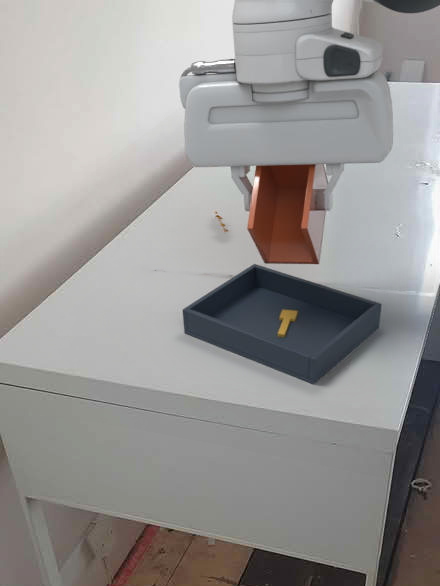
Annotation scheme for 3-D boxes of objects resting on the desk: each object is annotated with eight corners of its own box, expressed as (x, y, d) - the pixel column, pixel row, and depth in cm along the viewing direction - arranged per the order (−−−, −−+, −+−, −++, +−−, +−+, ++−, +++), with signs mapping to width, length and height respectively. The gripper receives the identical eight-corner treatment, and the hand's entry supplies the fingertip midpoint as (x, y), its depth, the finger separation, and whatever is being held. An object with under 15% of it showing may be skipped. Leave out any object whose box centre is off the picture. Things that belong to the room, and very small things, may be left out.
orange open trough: (275, 186, 79) (258, 144, 72) (329, 185, 77) (318, 141, 70) (264, 263, 78) (246, 228, 70) (319, 264, 76) (307, 228, 69)
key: (282, 312, 82) (282, 309, 82) (297, 313, 82) (297, 310, 81) (272, 336, 78) (272, 333, 78) (289, 338, 78) (289, 334, 77)
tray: (379, 327, 79) (381, 303, 77) (313, 384, 72) (314, 359, 70) (254, 286, 88) (254, 263, 86) (184, 333, 80) (182, 309, 78)
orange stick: (212, 217, 104) (212, 210, 104) (219, 216, 104) (219, 209, 104) (222, 239, 98) (222, 232, 98) (230, 238, 99) (229, 231, 98)
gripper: (165, 67, 66) (183, 219, 74) (391, 52, 60) (385, 219, 68) (187, 58, 71) (202, 201, 79) (399, 42, 65) (392, 199, 73)
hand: (288, 209), depth 73 cm, fingers closed on orange open trough, 6 cm apart
